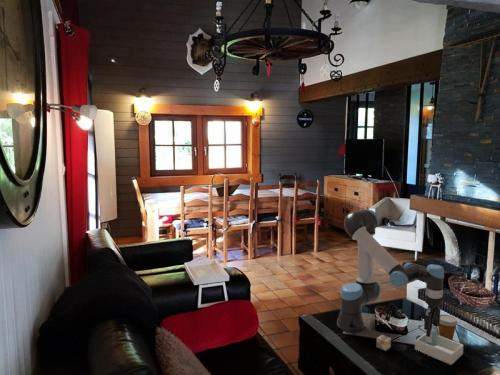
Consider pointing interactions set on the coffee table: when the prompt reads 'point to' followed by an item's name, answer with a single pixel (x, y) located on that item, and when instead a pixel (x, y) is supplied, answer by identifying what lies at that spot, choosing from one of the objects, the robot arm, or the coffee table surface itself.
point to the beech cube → (383, 342)
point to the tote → (440, 349)
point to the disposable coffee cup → (447, 326)
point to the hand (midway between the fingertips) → (431, 339)
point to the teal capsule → (433, 337)
